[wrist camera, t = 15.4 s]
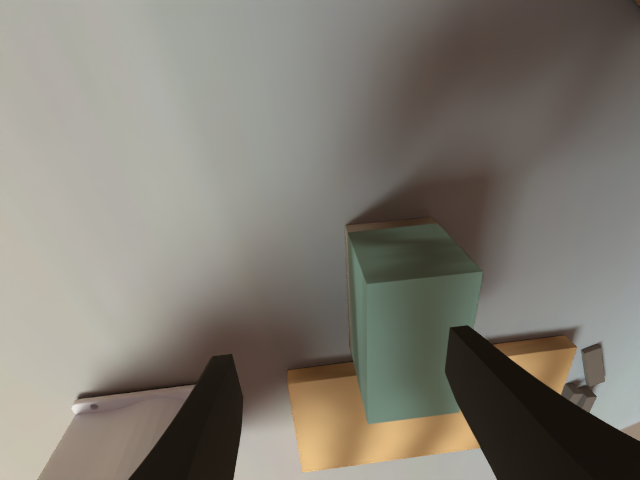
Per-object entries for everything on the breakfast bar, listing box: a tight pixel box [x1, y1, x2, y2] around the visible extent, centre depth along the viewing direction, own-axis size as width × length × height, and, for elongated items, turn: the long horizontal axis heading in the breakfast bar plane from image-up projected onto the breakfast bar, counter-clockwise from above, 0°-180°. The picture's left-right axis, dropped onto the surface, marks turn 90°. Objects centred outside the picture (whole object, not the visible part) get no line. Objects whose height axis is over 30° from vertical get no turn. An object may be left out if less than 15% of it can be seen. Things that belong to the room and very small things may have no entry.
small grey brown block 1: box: [581, 344, 605, 387], centre depth 27 cm, size 1×4×1 cm, turn 26°
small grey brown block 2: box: [576, 387, 597, 412], centre depth 29 cm, size 1×4×1 cm
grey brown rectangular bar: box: [561, 384, 583, 404], centre depth 29 cm, size 1×4×1 cm
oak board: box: [287, 335, 577, 473], centre depth 27 cm, size 20×10×1 cm, turn 94°
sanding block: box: [345, 217, 483, 424], centre depth 20 cm, size 5×9×6 cm, turn 4°
